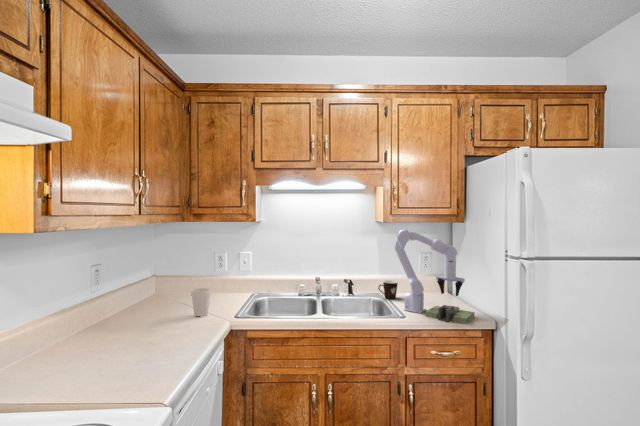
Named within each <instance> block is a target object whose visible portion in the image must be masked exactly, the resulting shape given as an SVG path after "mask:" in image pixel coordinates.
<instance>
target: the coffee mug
mask: <svg viewBox="0 0 640 426" xmlns="http://www.w3.org/2000/svg"><path fill="white" fill-rule="evenodd" d="M398 284H399V283H398V281H396V280H390V279H389V280H384V281H383V284H379V285H378V291H380V293H382V294H384V299H385V300H390V301H391V300H397V299H396V298H397V293H398V292H397V290H398ZM381 286H382V287H383V291H382V290H381V289H380V288H381Z"/></svg>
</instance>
